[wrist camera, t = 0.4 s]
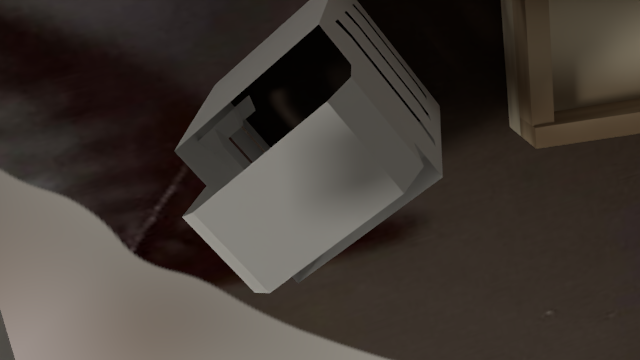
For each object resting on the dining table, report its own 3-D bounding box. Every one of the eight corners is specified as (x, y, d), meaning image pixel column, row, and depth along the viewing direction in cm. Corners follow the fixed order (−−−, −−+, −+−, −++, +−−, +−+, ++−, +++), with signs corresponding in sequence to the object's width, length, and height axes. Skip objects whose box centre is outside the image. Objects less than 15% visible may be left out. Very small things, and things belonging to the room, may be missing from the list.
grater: (439, 106, 36) (536, 227, 17) (317, 200, 38) (281, 398, 19) (337, -25, 34) (315, -55, 15) (215, 84, 36) (62, 180, 17)
